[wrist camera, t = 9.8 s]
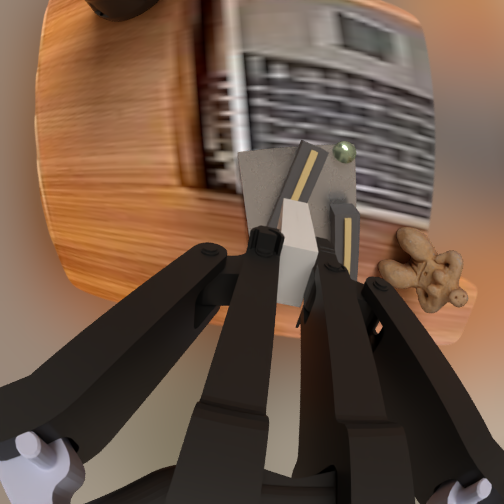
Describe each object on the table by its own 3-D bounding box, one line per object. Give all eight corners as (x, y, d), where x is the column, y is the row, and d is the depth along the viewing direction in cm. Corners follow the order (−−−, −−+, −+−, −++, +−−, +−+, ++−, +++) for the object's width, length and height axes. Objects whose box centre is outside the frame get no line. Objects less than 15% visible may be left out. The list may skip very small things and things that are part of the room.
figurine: (397, 216, 37) (465, 265, 24) (429, 229, 40) (488, 273, 27) (370, 274, 42) (422, 335, 29) (403, 280, 45) (452, 332, 32)
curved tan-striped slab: (329, 287, 42) (333, 310, 37) (328, 202, 37) (335, 215, 31) (348, 285, 42) (355, 308, 37) (350, 201, 36) (360, 214, 31)
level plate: (238, 148, 36) (235, 149, 34) (351, 140, 34) (355, 141, 32) (257, 285, 46) (256, 292, 44) (352, 280, 43) (354, 287, 41)
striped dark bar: (264, 229, 40) (260, 247, 34) (301, 139, 33) (303, 141, 28) (284, 237, 40) (283, 256, 34) (323, 149, 33) (329, 153, 28)
